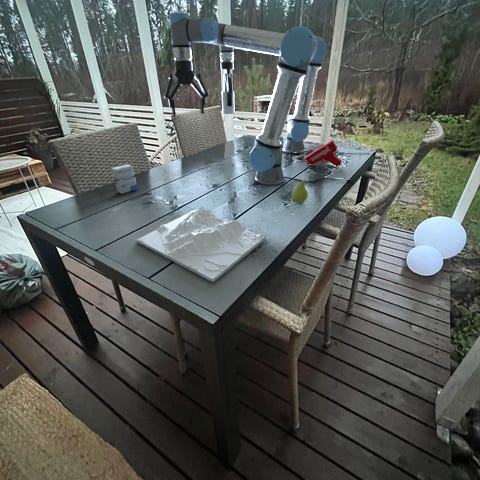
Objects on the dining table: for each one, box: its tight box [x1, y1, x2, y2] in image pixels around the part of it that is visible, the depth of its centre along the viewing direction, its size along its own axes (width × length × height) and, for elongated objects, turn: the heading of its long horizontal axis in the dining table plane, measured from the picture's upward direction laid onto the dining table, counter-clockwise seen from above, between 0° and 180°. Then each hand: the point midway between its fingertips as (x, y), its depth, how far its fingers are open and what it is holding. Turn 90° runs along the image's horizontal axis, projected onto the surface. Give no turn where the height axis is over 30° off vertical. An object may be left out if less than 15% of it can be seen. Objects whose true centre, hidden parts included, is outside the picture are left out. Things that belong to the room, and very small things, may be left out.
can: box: [221, 90, 236, 115], centre depth 168 cm, size 8×8×12 cm
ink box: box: [110, 164, 138, 195], centre depth 131 cm, size 8×5×12 cm, turn 135°
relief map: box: [136, 206, 266, 283], centre depth 93 cm, size 27×35×5 cm
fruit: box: [291, 174, 311, 204], centre depth 118 cm, size 7×8×12 cm
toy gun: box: [304, 139, 342, 169], centre depth 162 cm, size 18×4×15 cm
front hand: (188, 114), depth 127 cm, fingers open, 13 cm apart
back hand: (228, 105), depth 168 cm, fingers closed on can, 8 cm apart
